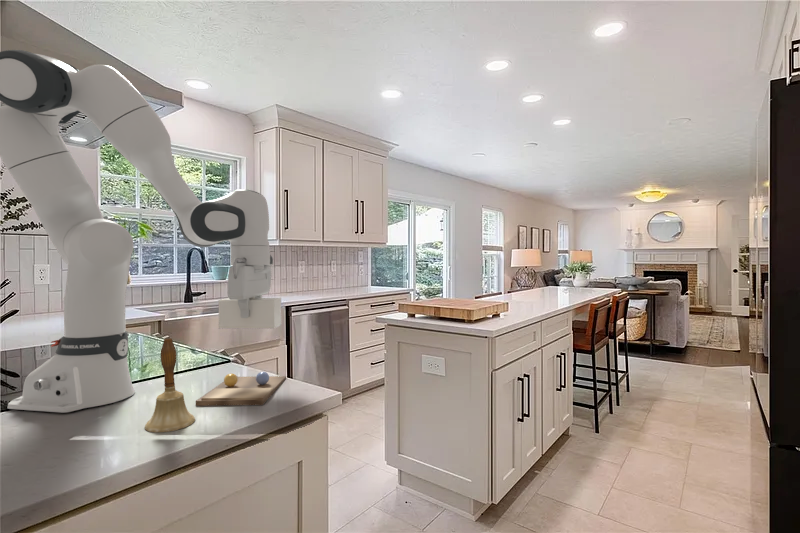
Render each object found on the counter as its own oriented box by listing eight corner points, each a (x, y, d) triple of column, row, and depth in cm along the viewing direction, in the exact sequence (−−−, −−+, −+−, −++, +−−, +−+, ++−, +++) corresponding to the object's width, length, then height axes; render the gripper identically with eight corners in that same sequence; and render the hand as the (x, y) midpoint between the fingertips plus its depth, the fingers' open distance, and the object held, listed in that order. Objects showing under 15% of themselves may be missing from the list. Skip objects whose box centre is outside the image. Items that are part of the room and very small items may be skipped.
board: (195, 405, 90) (195, 399, 90) (230, 380, 109) (230, 375, 109) (262, 405, 90) (262, 398, 90) (286, 380, 109) (286, 374, 109)
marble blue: (258, 383, 103) (254, 386, 100) (257, 371, 104) (254, 373, 101) (270, 382, 103) (267, 385, 100) (270, 370, 104) (267, 372, 101)
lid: (218, 328, 101) (218, 297, 101) (228, 324, 107) (228, 295, 107) (274, 328, 101) (274, 297, 101) (281, 324, 107) (281, 295, 107)
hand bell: (174, 434, 75) (173, 343, 75) (133, 430, 77) (132, 341, 77) (204, 417, 83) (203, 335, 83) (167, 414, 85) (166, 333, 85)
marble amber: (227, 377, 103) (225, 389, 101) (223, 371, 100) (220, 383, 98) (240, 376, 103) (237, 388, 101) (236, 370, 100) (233, 382, 98)
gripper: (248, 257, 94) (249, 321, 94) (275, 258, 114) (275, 310, 114) (219, 257, 93) (220, 321, 94) (251, 258, 114) (251, 310, 114)
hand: (250, 315), depth 104 cm, fingers closed on lid, 6 cm apart
